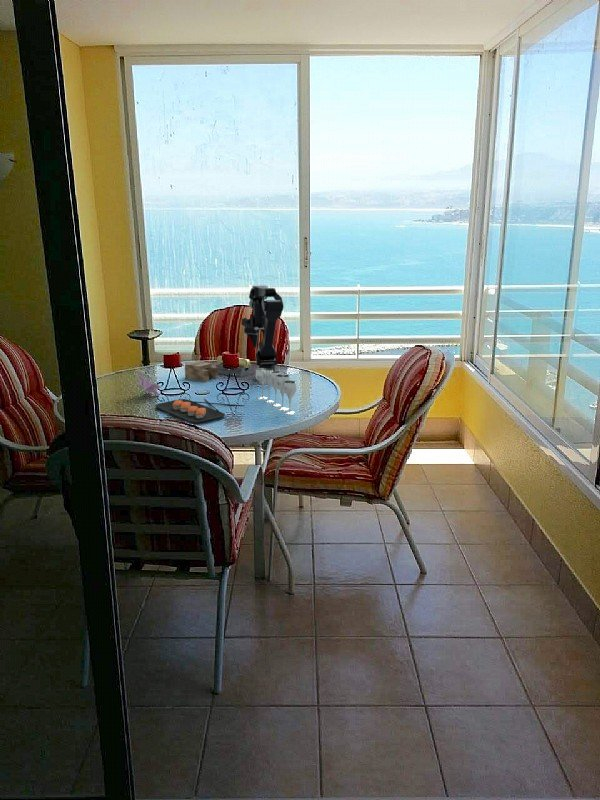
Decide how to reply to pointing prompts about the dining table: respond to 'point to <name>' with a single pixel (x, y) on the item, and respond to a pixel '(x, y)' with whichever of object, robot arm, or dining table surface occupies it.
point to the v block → (239, 371)
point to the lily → (147, 385)
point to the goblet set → (276, 386)
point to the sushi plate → (192, 410)
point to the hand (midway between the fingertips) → (260, 345)
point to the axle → (242, 362)
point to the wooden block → (200, 371)
